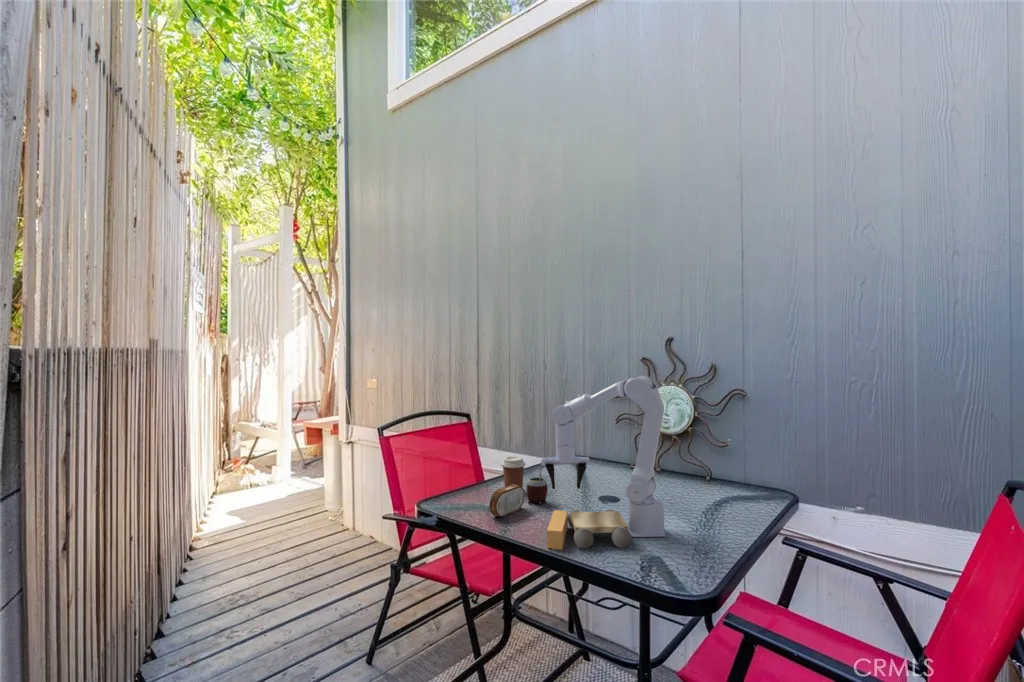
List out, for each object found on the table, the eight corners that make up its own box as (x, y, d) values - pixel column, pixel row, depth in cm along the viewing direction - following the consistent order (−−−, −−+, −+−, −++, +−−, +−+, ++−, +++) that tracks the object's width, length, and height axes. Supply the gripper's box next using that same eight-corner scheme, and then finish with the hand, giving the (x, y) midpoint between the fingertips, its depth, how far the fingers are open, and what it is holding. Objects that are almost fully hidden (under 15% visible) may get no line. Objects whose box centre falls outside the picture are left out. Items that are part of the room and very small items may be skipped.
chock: (567, 528, 143) (567, 511, 143) (562, 550, 128) (562, 531, 128) (554, 527, 144) (553, 510, 144) (547, 549, 128) (546, 530, 128)
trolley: (618, 526, 143) (618, 509, 143) (631, 547, 128) (631, 528, 128) (567, 527, 143) (567, 510, 143) (574, 548, 128) (574, 529, 128)
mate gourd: (529, 507, 162) (528, 461, 162) (524, 500, 169) (523, 456, 170) (551, 505, 163) (550, 460, 163) (545, 498, 171) (544, 455, 171)
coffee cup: (499, 494, 176) (499, 461, 176) (503, 487, 185) (502, 455, 185) (524, 494, 175) (524, 461, 175) (527, 487, 184) (526, 455, 184)
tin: (519, 506, 163) (518, 480, 163) (526, 508, 161) (526, 482, 161) (488, 519, 151) (488, 491, 151) (496, 521, 149) (496, 493, 149)
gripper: (586, 440, 155) (587, 483, 154) (540, 441, 155) (541, 484, 154) (590, 445, 148) (591, 490, 147) (542, 446, 147) (543, 491, 147)
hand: (565, 488), depth 150 cm, fingers open, 7 cm apart
